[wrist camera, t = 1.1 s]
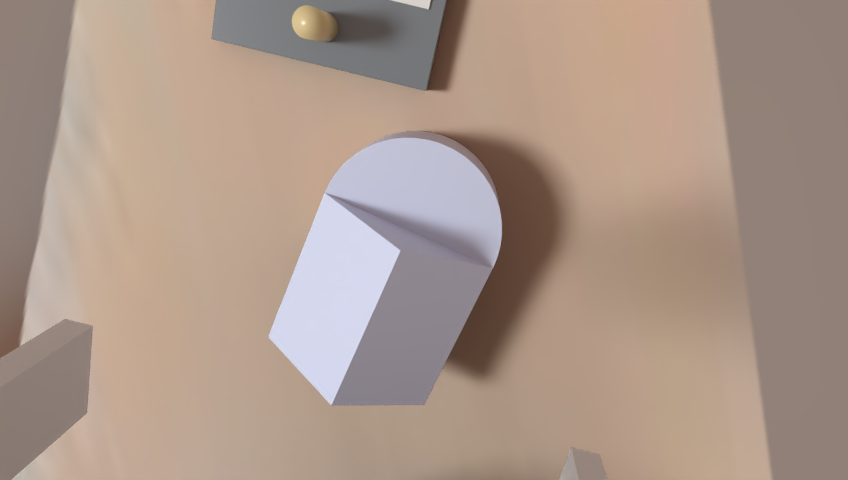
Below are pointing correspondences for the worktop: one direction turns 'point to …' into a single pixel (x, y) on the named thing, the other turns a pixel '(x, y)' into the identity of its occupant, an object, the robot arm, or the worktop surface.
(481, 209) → the wedge on round base
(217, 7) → the pin plate
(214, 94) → the worktop surface
